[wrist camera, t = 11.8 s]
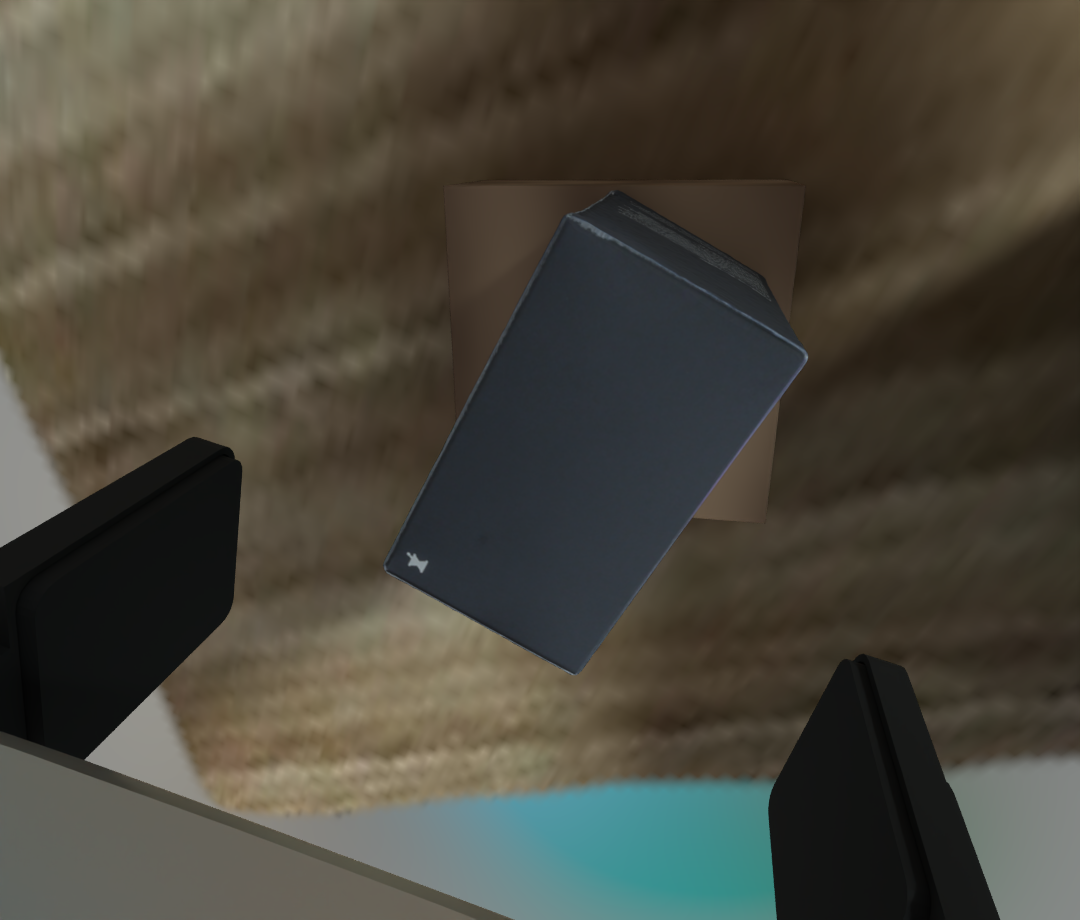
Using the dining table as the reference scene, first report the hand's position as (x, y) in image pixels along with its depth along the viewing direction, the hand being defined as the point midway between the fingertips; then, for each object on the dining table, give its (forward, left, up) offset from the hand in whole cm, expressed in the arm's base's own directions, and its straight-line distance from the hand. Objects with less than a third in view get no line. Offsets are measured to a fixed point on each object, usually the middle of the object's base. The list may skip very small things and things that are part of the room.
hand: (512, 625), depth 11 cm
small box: (0, +1, -17) cm, 17 cm away
